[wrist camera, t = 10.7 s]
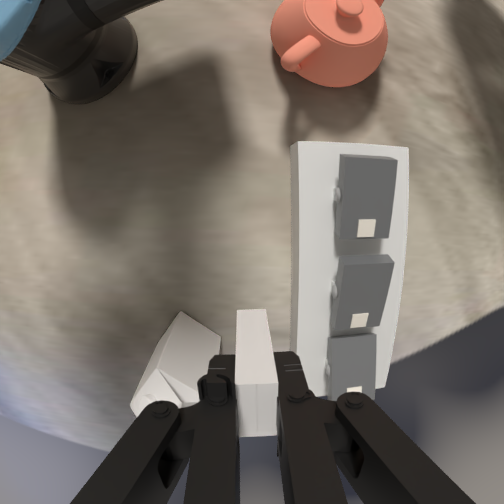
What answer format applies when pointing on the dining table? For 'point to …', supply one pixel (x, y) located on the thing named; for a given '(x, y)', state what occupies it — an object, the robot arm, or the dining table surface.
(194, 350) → the milk carton
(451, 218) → the dining table surface
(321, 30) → the teapot
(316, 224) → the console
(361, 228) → the plate
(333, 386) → the rocker
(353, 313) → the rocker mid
